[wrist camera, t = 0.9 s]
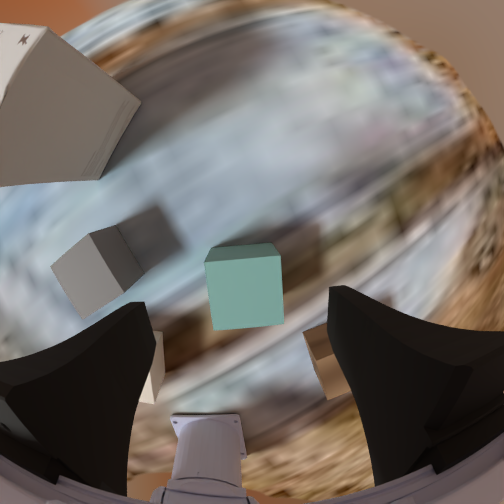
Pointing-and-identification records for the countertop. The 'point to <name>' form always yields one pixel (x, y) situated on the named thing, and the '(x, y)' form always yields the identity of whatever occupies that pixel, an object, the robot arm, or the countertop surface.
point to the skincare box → (55, 109)
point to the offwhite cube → (154, 372)
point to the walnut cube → (325, 362)
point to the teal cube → (244, 286)
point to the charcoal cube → (97, 270)
